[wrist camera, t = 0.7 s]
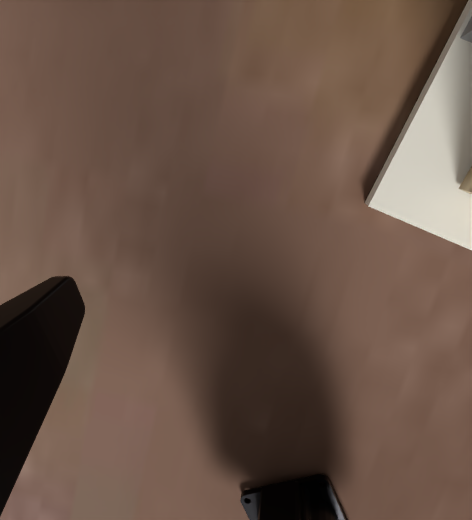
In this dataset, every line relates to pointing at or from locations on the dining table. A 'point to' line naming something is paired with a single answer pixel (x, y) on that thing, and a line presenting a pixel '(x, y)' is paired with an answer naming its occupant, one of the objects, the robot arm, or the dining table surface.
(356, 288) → the dining table surface
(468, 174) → the peg
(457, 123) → the block holder base
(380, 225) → the dining table surface
